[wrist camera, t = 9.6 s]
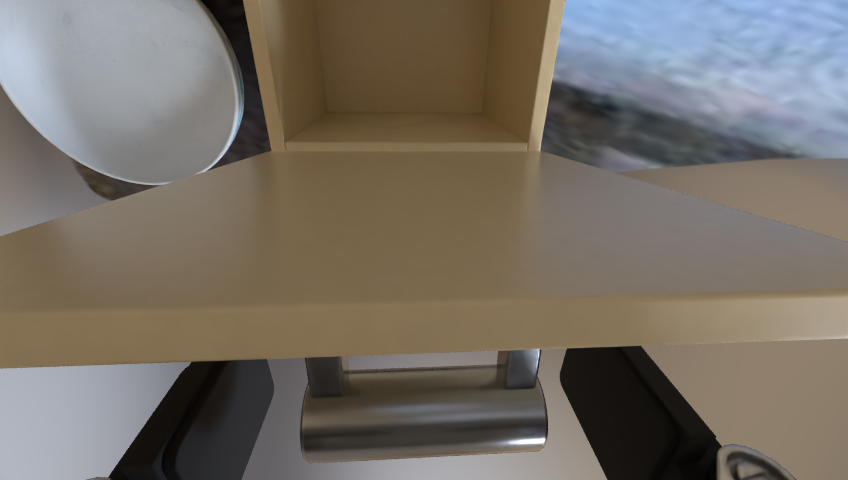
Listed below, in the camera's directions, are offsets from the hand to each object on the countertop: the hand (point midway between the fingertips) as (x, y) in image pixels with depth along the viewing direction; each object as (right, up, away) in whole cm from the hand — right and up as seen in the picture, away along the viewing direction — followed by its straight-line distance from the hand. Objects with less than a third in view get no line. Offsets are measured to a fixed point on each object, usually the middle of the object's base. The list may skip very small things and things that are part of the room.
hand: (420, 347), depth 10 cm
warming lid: (0, +5, +2) cm, 6 cm away
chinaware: (-21, +18, +19) cm, 33 cm away
